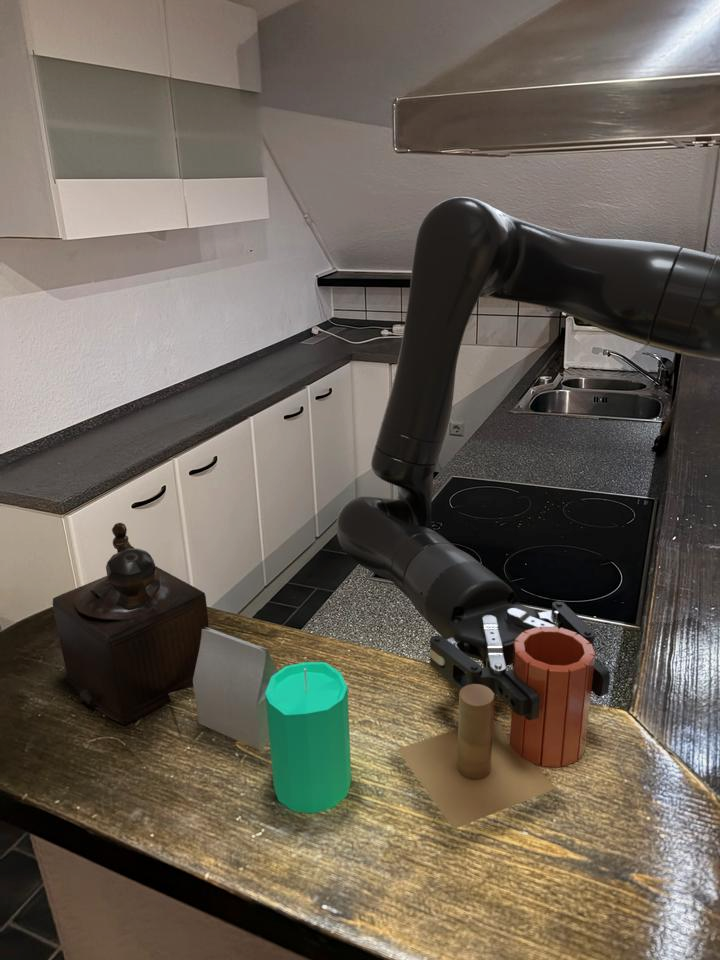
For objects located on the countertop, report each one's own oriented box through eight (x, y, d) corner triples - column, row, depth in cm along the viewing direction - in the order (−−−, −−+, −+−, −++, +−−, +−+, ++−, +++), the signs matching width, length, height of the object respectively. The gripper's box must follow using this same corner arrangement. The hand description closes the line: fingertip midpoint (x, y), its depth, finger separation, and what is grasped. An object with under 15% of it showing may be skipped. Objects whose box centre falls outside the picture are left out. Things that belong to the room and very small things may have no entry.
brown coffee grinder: (58, 685, 73) (21, 515, 67) (156, 635, 81) (132, 478, 74) (149, 760, 63) (117, 570, 57) (251, 696, 71) (234, 521, 64)
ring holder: (490, 730, 66) (494, 647, 63) (555, 803, 58) (563, 712, 55) (396, 763, 62) (395, 677, 59) (452, 844, 55) (455, 751, 52)
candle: (299, 761, 63) (290, 637, 58) (365, 783, 60) (360, 656, 56) (259, 812, 58) (246, 682, 54) (329, 839, 56) (321, 705, 51)
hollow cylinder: (553, 708, 66) (561, 619, 63) (600, 752, 61) (611, 658, 57) (494, 728, 64) (499, 637, 60) (538, 776, 59) (545, 679, 55)
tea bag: (261, 764, 63) (252, 663, 59) (200, 736, 66) (187, 638, 62) (288, 737, 66) (280, 639, 62) (228, 712, 69) (217, 617, 65)
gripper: (389, 578, 68) (493, 682, 54) (523, 545, 74) (650, 632, 59) (390, 648, 71) (489, 766, 57) (519, 612, 76) (639, 711, 62)
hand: (571, 697), depth 58 cm, fingers closed on hollow cylinder, 6 cm apart
